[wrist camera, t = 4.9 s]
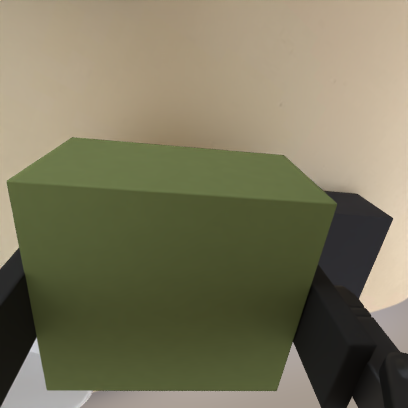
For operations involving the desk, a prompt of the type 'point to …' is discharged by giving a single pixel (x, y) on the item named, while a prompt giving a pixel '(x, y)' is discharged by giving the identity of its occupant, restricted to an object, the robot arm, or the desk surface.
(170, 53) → the desk surface
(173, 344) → the olive green block
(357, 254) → the black block
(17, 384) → the food container
